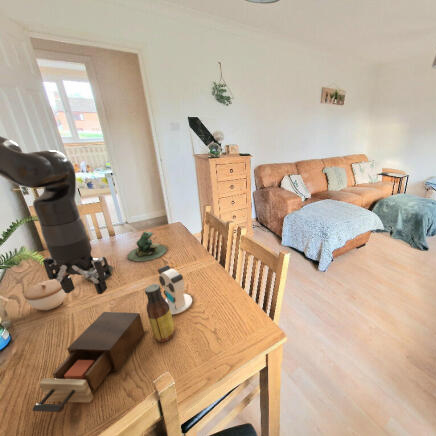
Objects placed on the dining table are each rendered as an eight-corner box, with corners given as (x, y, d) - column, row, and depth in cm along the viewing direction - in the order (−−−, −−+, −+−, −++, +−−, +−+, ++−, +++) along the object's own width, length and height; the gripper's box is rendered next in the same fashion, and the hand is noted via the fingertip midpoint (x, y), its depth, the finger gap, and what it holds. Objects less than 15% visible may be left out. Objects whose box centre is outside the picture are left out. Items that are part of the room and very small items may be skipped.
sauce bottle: (177, 326, 83) (168, 280, 76) (172, 342, 78) (162, 293, 70) (157, 328, 82) (146, 281, 75) (150, 344, 76) (138, 294, 69)
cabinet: (117, 371, 68) (109, 350, 65) (76, 370, 68) (66, 348, 65) (144, 332, 81) (139, 312, 77) (110, 331, 80) (103, 311, 77)
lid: (107, 269, 115) (102, 260, 113) (118, 270, 110) (114, 261, 109) (82, 282, 106) (77, 272, 105) (93, 283, 102) (88, 273, 100)
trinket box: (55, 293, 96) (47, 273, 93) (77, 297, 94) (70, 278, 91) (23, 312, 87) (13, 291, 83) (46, 317, 85) (37, 296, 81)
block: (68, 387, 62) (63, 375, 60) (82, 370, 66) (78, 359, 64) (85, 387, 62) (81, 376, 60) (98, 371, 66) (94, 360, 64)
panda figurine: (154, 304, 93) (146, 272, 87) (181, 289, 101) (176, 259, 96) (169, 319, 86) (162, 285, 81) (197, 302, 95) (193, 270, 89)
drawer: (74, 423, 55) (65, 405, 53) (29, 422, 55) (18, 403, 53) (123, 357, 71) (117, 340, 69) (88, 355, 71) (81, 339, 68)
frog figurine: (172, 252, 129) (169, 233, 125) (135, 265, 116) (130, 244, 112) (158, 241, 139) (155, 223, 135) (123, 252, 127) (117, 233, 122)
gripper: (108, 231, 61) (122, 283, 67) (51, 229, 61) (71, 282, 67) (84, 246, 54) (102, 302, 60) (20, 243, 54) (45, 300, 60)
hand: (86, 291), depth 63 cm, fingers open, 8 cm apart
